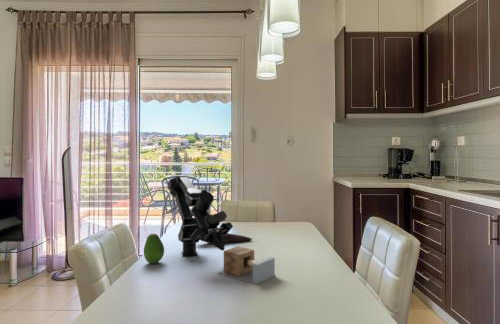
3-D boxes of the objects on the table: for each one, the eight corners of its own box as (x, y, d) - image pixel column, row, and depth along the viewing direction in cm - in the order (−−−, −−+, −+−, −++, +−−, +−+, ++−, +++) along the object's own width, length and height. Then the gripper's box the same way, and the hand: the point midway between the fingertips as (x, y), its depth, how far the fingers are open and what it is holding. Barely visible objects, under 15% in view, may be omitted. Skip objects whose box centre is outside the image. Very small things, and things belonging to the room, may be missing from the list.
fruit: (168, 261, 145) (167, 232, 144) (158, 267, 137) (157, 236, 137) (150, 259, 147) (150, 230, 147) (139, 265, 139) (139, 235, 139)
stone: (194, 238, 167) (203, 217, 169) (192, 236, 173) (201, 217, 175) (246, 259, 175) (254, 239, 177) (242, 257, 181) (250, 238, 183)
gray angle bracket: (217, 273, 130) (217, 255, 130) (237, 265, 138) (237, 249, 138) (256, 284, 118) (256, 265, 118) (275, 275, 127) (275, 257, 127)
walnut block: (223, 271, 130) (223, 250, 130) (238, 266, 136) (237, 246, 136) (240, 276, 125) (240, 254, 125) (254, 270, 131) (254, 249, 131)
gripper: (195, 207, 131) (216, 241, 124) (229, 202, 146) (250, 232, 139) (181, 226, 136) (201, 260, 129) (215, 219, 151) (235, 249, 144)
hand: (223, 249), depth 135 cm, fingers closed
